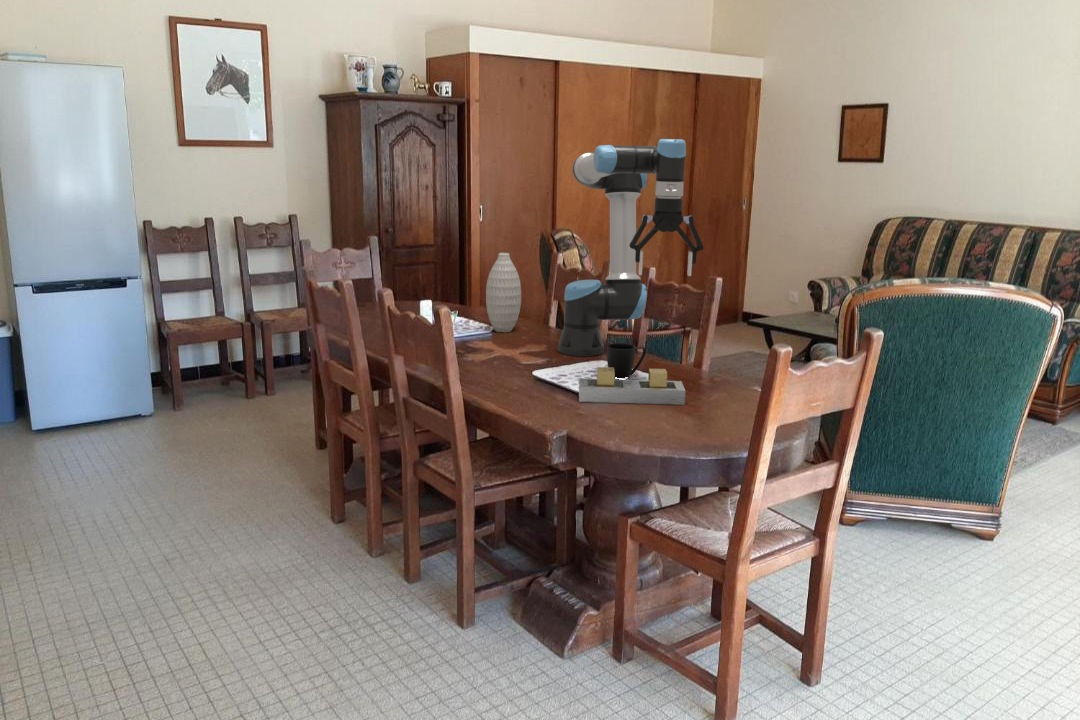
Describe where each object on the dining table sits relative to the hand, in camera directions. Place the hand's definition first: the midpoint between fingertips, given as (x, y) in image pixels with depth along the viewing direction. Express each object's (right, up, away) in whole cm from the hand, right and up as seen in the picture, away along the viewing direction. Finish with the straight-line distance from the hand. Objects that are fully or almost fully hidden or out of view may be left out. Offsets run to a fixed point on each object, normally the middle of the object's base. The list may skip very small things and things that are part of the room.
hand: (664, 274), depth 239 cm
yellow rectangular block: (-3, -34, -7) cm, 35 cm away
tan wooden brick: (-17, -34, -6) cm, 39 cm away
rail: (-10, -34, -7) cm, 36 cm away
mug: (-9, -29, +15) cm, 34 cm away
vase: (-48, -13, +74) cm, 89 cm away
